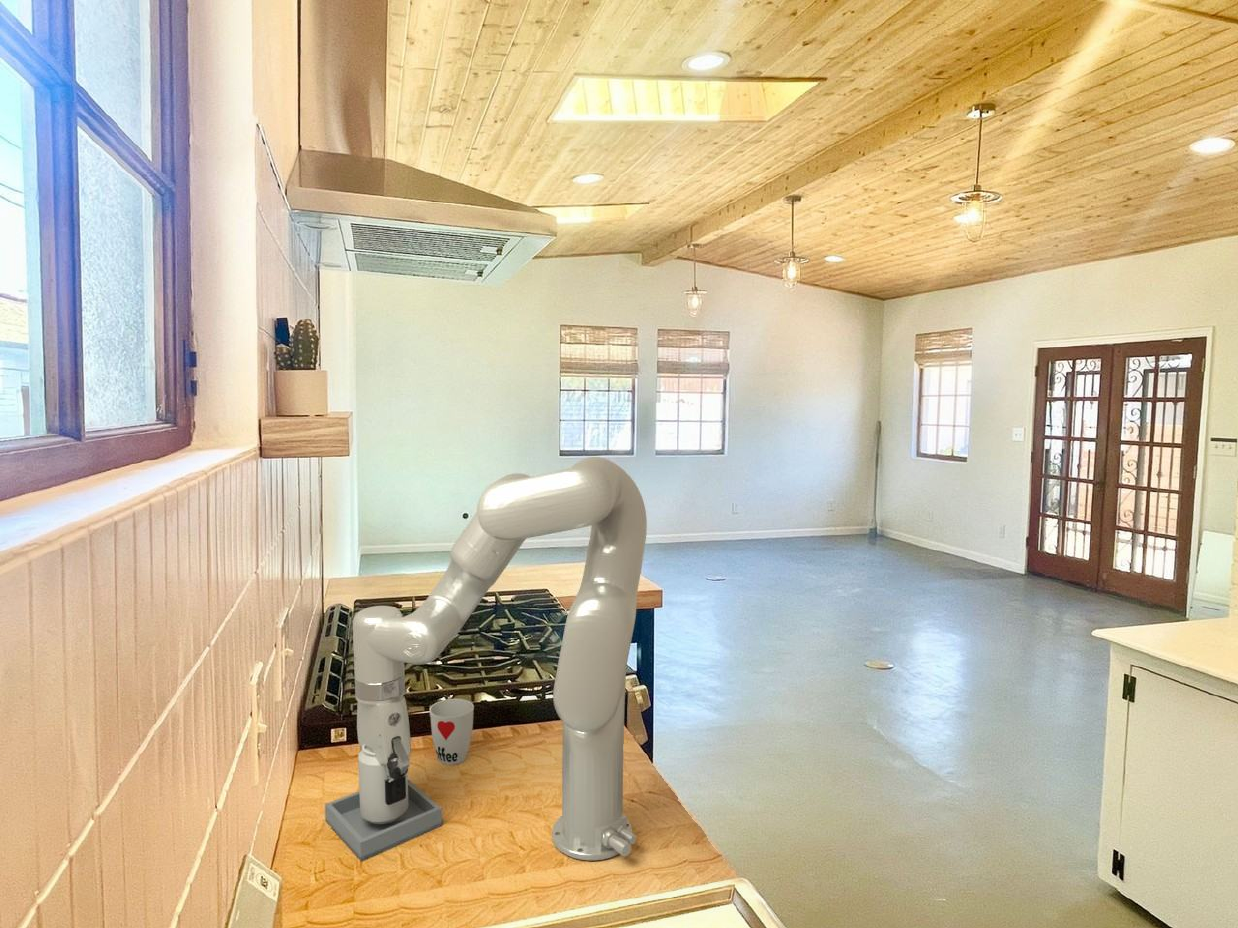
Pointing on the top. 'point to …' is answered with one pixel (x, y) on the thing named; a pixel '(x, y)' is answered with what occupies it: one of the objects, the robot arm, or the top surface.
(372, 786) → the can
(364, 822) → the bin
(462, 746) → the cup
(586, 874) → the top surface
